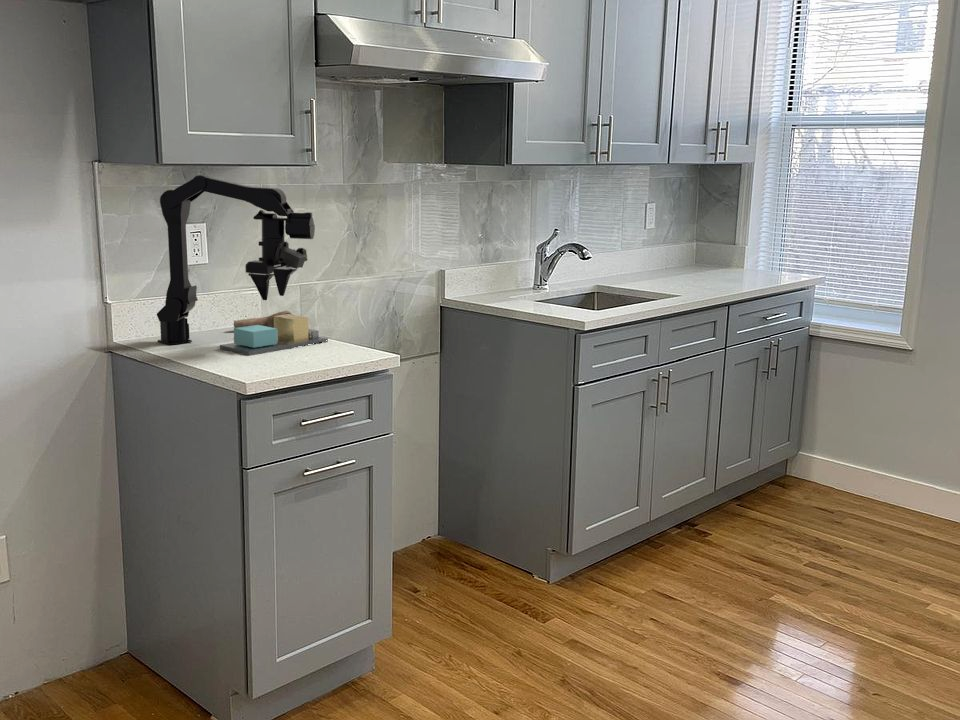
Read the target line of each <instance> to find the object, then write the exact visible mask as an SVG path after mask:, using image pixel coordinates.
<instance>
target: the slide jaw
mask: <svg viewBox="0 0 960 720" xmlns="http://www.w3.org/2000/svg"><path fill="white" fill-rule="evenodd" d="M277 341H278V335H277V328H272V327H267V326H261V325H252V326H245V327H238V328H233V343H235V344H239V345H244V346H248V347H253V348H255V347H261V346H267V345H273V344H277Z"/></svg>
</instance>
